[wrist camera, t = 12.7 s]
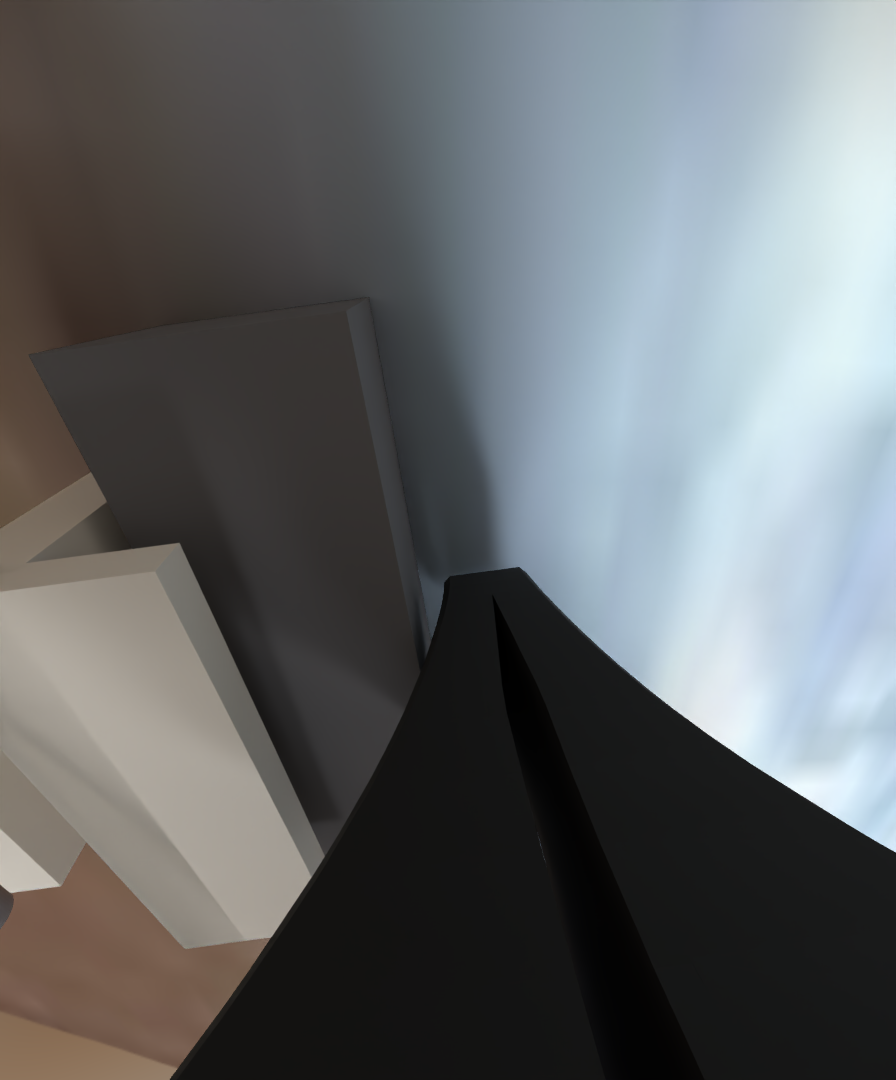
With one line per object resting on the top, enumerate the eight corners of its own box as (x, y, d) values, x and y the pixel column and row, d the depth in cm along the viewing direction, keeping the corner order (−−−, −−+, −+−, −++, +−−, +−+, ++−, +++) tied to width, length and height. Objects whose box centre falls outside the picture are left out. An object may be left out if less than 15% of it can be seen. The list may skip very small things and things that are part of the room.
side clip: (361, 723, 11) (337, 928, 8) (171, 748, 11) (61, 965, 8) (271, 434, 8) (155, 570, 4) (-5, 471, 8) (-358, 638, 4)
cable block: (448, 734, 12) (459, 862, 9) (332, 750, 12) (310, 882, 9) (370, 296, 7) (346, 311, 4) (170, 323, 7) (28, 353, 4)
